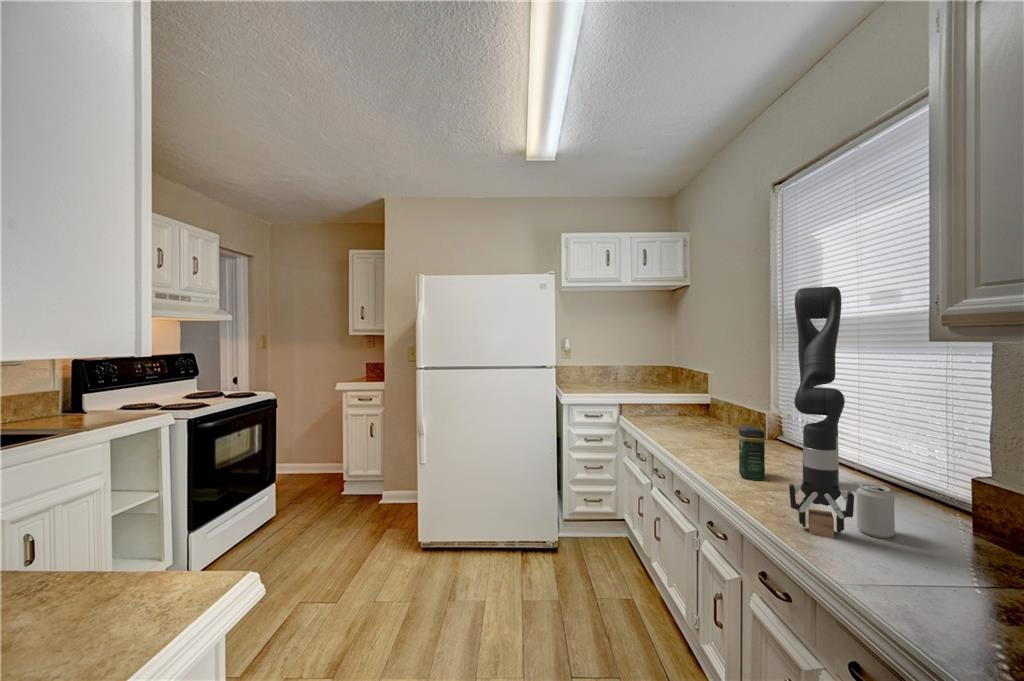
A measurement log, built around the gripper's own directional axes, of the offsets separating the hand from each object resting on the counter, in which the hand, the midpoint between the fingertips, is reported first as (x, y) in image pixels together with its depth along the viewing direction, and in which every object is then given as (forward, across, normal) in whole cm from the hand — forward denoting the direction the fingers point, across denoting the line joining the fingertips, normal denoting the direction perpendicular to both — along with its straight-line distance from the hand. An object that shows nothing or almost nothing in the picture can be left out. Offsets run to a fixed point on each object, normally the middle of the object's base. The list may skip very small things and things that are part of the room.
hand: (820, 528), depth 113 cm
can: (+1, -12, -6) cm, 13 cm away
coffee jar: (+1, +17, -43) cm, 46 cm away
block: (+1, 0, 0) cm, 1 cm away
